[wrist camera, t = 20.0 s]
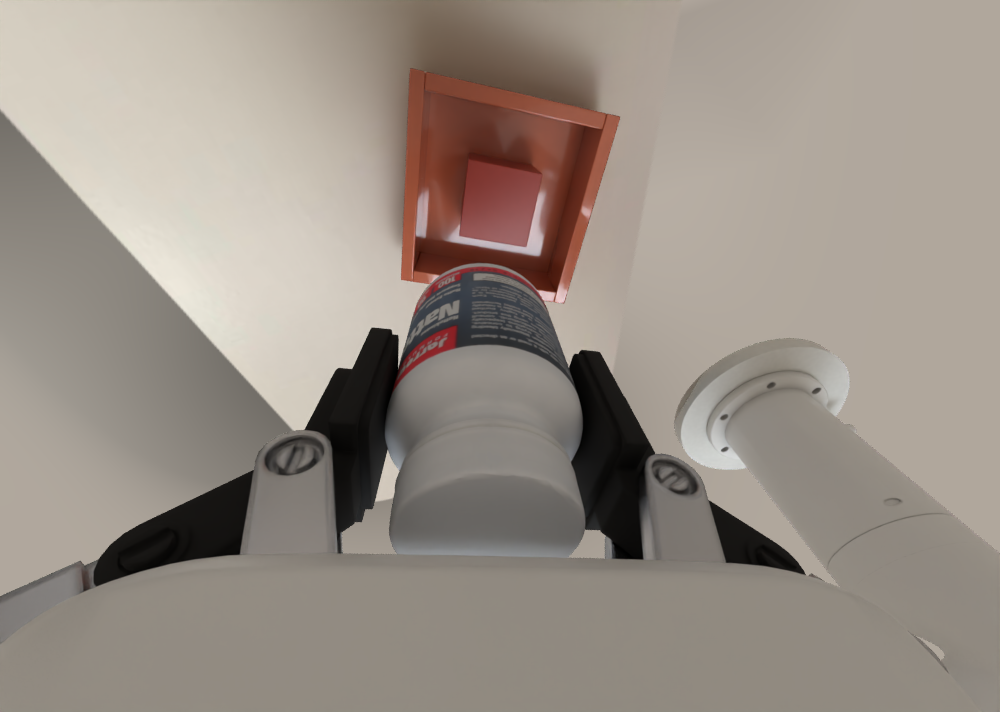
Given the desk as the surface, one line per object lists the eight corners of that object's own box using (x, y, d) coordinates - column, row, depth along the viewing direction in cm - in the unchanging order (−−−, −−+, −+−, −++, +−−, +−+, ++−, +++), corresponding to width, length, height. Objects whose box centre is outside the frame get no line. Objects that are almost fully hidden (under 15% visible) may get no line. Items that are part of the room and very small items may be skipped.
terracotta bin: (597, 116, 24) (620, 116, 21) (552, 280, 31) (564, 304, 27) (420, 75, 23) (409, 67, 19) (410, 258, 29) (400, 280, 25)
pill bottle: (446, 234, 13) (412, 402, 5) (571, 295, 14) (678, 491, 7) (395, 351, 15) (323, 578, 8) (506, 392, 17) (535, 613, 9)
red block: (532, 164, 25) (542, 173, 22) (519, 229, 28) (526, 247, 24) (468, 151, 25) (468, 158, 21) (460, 219, 27) (458, 236, 23)
